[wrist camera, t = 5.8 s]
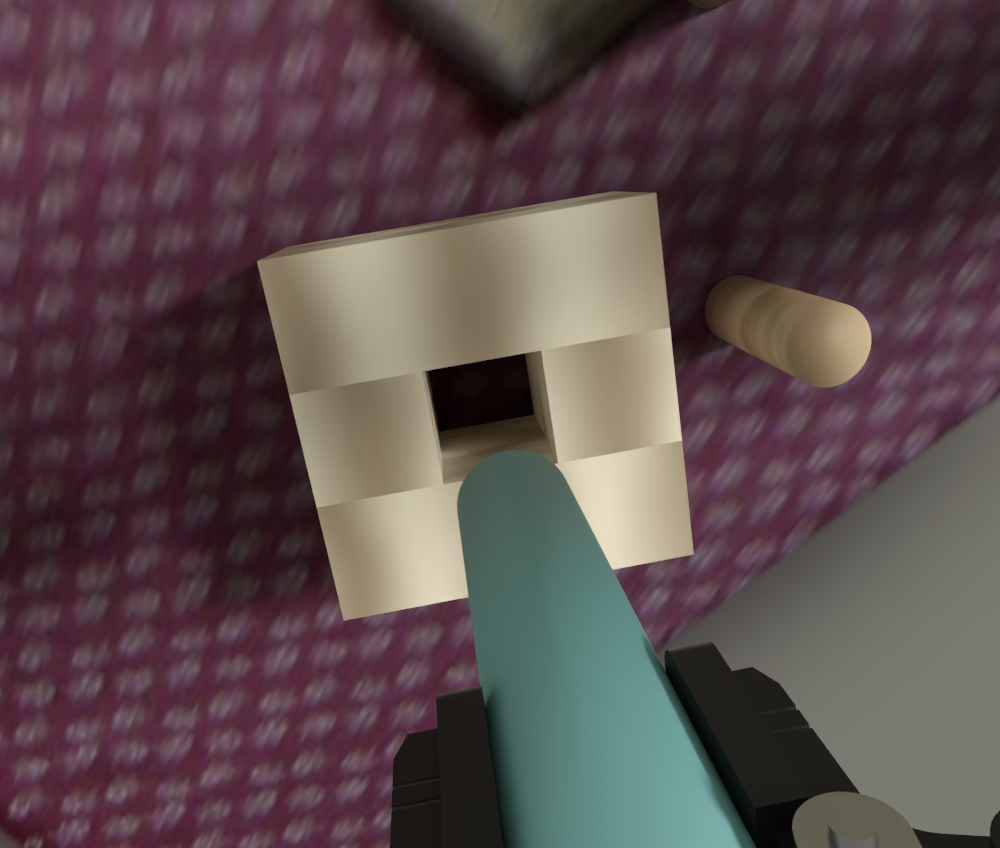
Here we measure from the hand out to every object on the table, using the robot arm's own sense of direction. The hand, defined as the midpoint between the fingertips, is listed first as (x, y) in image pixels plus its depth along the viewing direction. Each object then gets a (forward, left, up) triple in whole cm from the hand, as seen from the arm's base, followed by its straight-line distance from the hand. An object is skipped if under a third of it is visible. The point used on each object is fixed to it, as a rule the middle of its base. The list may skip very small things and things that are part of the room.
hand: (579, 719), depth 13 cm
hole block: (0, 0, -25) cm, 25 cm away
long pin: (0, 0, -9) cm, 9 cm away
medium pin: (-12, -1, -25) cm, 28 cm away
